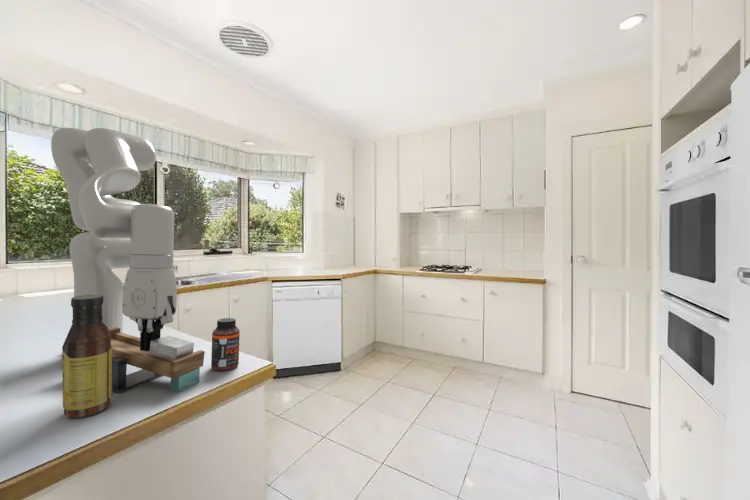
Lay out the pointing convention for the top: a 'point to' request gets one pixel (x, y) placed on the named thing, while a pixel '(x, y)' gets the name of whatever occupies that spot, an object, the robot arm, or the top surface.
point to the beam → (135, 357)
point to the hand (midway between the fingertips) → (150, 348)
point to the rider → (170, 348)
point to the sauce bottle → (87, 360)
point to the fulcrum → (146, 377)
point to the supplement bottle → (225, 345)
